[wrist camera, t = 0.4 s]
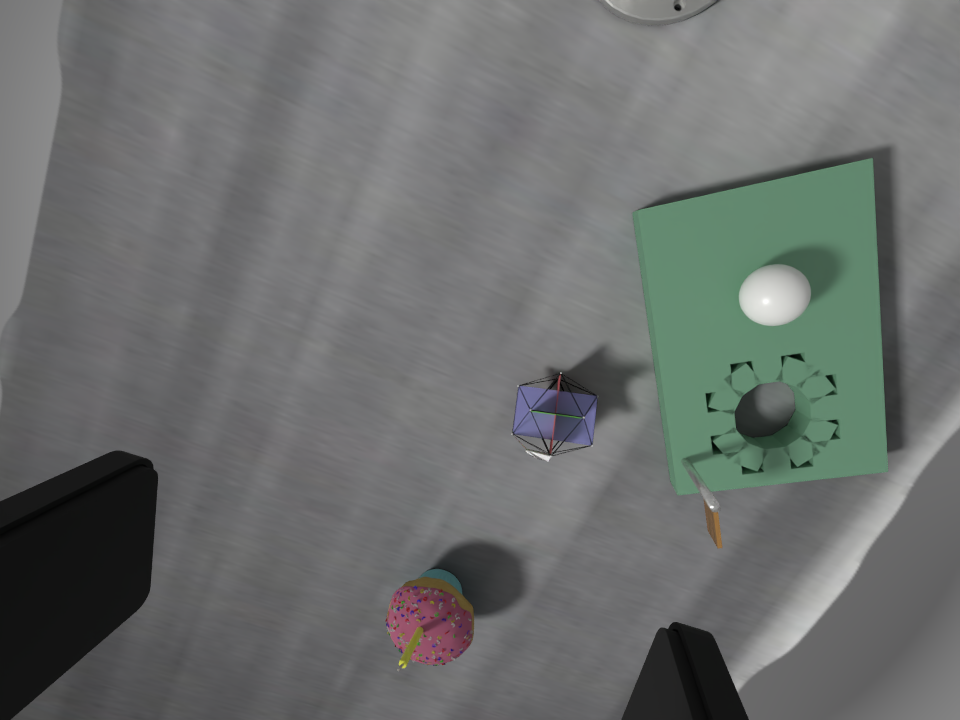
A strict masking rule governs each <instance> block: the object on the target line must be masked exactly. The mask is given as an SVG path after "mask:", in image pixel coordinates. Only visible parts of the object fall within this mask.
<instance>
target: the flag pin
mask: <svg viewBox="0 0 960 720" xmlns="http://www.w3.org/2000/svg"><path fill="white" fill-rule="evenodd" d="M681 463H682V465H683V466H684V468H685V470H686V471H687V473H688V474H689V476H690V478H691V479H692V481H693V482H694V484H695V486H696V487H697V489H698V490H699V492H700V494H701V495H702V497H703V498H704V505H705V513H706V520H707V528H708V532H709V534H710V535H711V537H712V539H713V541H714V542H715V544H716V546H717V548H722V541H721V533H720V525H719V517H718V512H719V511H720V509H721V506H720V504H719V503H718V501H717V500H716V498H715V497H714V496H713V494H712V493H711V491H710V490H709V488H708V487H707V485H706V484H705V482H704V481H703V479H702V478H701V476H700V475H699V473H698V472H697V470H696V469H695V467H694V466H693V464H692V463H691V461H690V460H689V459H688V458H683V459H682V460H681Z"/></svg>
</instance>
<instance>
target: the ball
mask: <svg viewBox="0 0 960 720" xmlns="http://www.w3.org/2000/svg"><path fill="white" fill-rule="evenodd" d="M810 298H811V288H810V284H809V282H808V280H807V278H806V277H805V276H804V275H803V274H802V273H801V272H800V271H799V270H797V269H795V268H793V267H791V266H788V265H782V264H773V265H767V266H764V267H761V268H759V269H757V270H755V271H754V272H752V273H751V274H750V275H749V276H748V277H747V278H746V279H745V280H744V282H743V284H742V285H741V288H740V291H739V303H740V306H741V309H742V311H743V312H744V314H745V315H746V316H747V317H748V318H749V319H751V320H752V321H754V322H756V323H758V324H762V325H766V326H778V325H783V324H787V323H789V322H791V321H793V320H795V319H796V318H798V317H799V316H800V315H801V314H802V313H803V312H804V311H805V310H806V308H807V306H808V304H809V302H810Z"/></svg>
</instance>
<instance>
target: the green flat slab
mask: <svg viewBox="0 0 960 720" xmlns="http://www.w3.org/2000/svg"><path fill="white" fill-rule="evenodd" d="M633 220H634V227H635V234H636V241H637V248H638V255H639V263H640V270H641V277H642V284H643V291H644V298H645V305H646V312H647V319H648V326H649V333H650V340H651V347H652V354H653V361H654V368H655V375H656V382H657V389H658V396H659V403H660V410H661V418H662V425H663V432H664V439H665V446H666V453H667V460H668V467H669V474H670V481H671V483H672V485H673V487H674V489H675V491H676V493H677V495H685V494H694V493H700V492H699V490H698V489H697V487H696V486H695V484H694V482H693V481H692V479H691V478H690V476H689V474H688V473H687V471H686V470H685V468H684V466H683V465H682V463H681V460H682V459H683V458H688V459H689V460H690V461H691V463H692V464H693V466H694V467H695V469H696V470H697V472H698V473H699V475H700V476H701V478H702V479H703V481H704V482H705V484H706V485H707V487H708V488H709V490H710V491H711V492H712V491H721V490H730V489H739V488H747V487H756V486H765V485H774V484H783V483H792V482H801V481H810V480H819V479H828V478H837V477H846V476H855V475H864V474H873V473H882V472H888V461H887V440H886V420H885V399H884V379H883V358H882V337H881V317H880V296H879V275H878V255H877V234H876V213H875V193H874V172H873V158H870V159H866V160H861V161H857V162H852V163H848V164H843V165H839V166H834V167H830V168H825V169H821V170H816V171H812V172H807V173H803V174H798V175H794V176H789V177H785V178H780V179H776V180H771V181H767V182H762V183H758V184H753V185H749V186H744V187H740V188H735V189H731V190H726V191H722V192H717V193H713V194H708V195H704V196H699V197H695V198H690V199H686V200H681V201H677V202H672V203H668V204H663V205H659V206H654V207H650V208H645V209H641V210H637V211H635V212H633ZM773 264H782V265H788V266H791V267H793V268H795V269H797V270H799V271H800V272H801V273H802V274H803V275H804V276H805V277H806V278H807V280H808V282H809V284H810V288H811V298H810V302H809V304H808V306H807V308H806V310H805V311H804V312H803V313H802V314H801V315H800V316H799V317H798V318H796V319H795V320H793V321H791V322H789V323H787V324H783V325H778V326H766V325H762V324H758V323H756V322H754V321H752V320H751V319H749V318H748V317H747V316H746V315H745V314H744V312H743V311H742V309H741V306H740V303H739V291H740V288H741V285H742V284H743V282H744V280H745V279H746V278H747V277H748V276H749V275H750V274H751V273H752V272H754V271H755V270H757V269H759V268H761V267H764V266H767V265H773ZM789 355H790V356H789ZM777 381H781V382H783V383H786V384H787V385H788V386H789V387H790V388H791V389H792V391H793V392H794V397H795V408H796V410H795V412H794V413H793V415H792V417H791V419H790V421H789V423H788V425H787V426H785V427H784V428H782V429H781V430H779V431H778V432H776V433H775V434H773V435H771V436H763V437H756V438H752V437H749V436H746V435H743V434H740V433H739V432H738V431H737V430H736V424H735V415H734V412H735V410H736V408H737V406H738V404H739V402H740V400H741V398H742V396H743V395H744V394H746V393H747V392H748V391H750V390H751V389H753V388H754V387H756V386H757V385H758V384H764V383H770V382H777ZM711 440H712V441H713V442H711Z"/></svg>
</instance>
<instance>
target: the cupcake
mask: <svg viewBox="0 0 960 720" xmlns="http://www.w3.org/2000/svg"><path fill="white" fill-rule="evenodd" d="M386 621H387V624H386V625H387V630H388V632H389V635H390V636H391V638H392V641H393V642H394V643H395V647H396V646H397V647H398V648H399V652H401V653H403V656H402V658H401V660H400V662H399V668H398V669H397V671H400V670H401V668H405V667H406V666H407V664H408V662H409V660H411V659H412V660H413V661H414V662H415V661H417V662H419V663H423V664H427V665H440V664H442V665H446V664H445V663H447V662H449V661H452V660H455V659H456V658H457V657H459V656H460V655H461V654H462V653H463V652H464V651H465V650H466V649H467V648H468V647H469V646H470V644H471V642H472V640H473V634H474V610H473V606H472V605H471V604H470V603H469V602H468V601H467V600H466V598H465V597H464V596H463V595H462V587H461V584H460V582H459V581H458V579H457V578H456V577H455V576H454V575H453V574H451V573H450V572H448V571H445V570H442V569H432V570H429V571H426V572H425V573H423V574H422V575H421V576H420V577H419V578H418V579H416V580H413V581H408V582H406V583H405V584H404V585H403V586H402V587H401V588H399V589H398V590H397V591H396V592H395V593H394V594H393V596H392V599H391V602H390V605H389V610H388V614H387V619H386ZM387 634H388V633H387Z"/></svg>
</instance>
